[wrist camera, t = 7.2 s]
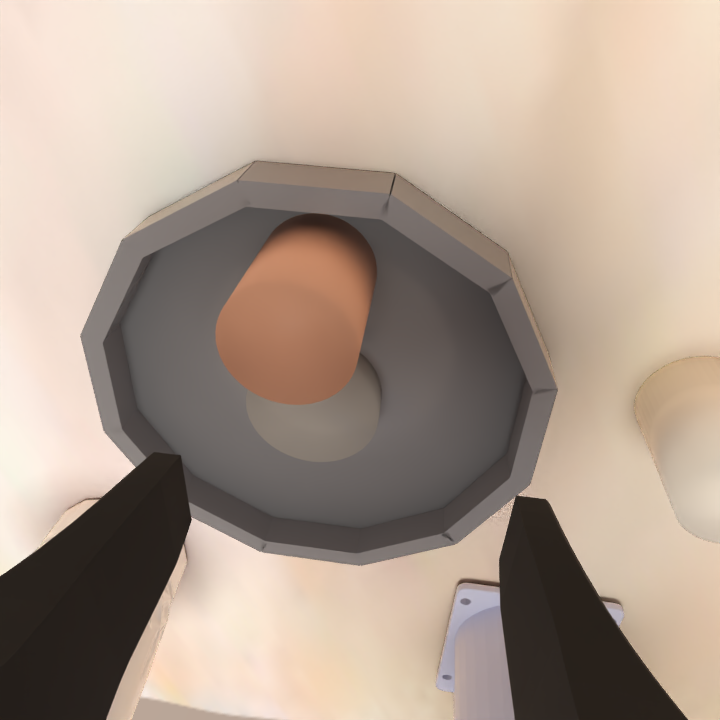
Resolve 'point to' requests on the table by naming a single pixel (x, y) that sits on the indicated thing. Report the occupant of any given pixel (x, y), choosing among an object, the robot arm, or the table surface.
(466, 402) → the groove tray
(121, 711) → the white cup
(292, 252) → the bead terracotta
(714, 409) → the bead cream
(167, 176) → the table surface
